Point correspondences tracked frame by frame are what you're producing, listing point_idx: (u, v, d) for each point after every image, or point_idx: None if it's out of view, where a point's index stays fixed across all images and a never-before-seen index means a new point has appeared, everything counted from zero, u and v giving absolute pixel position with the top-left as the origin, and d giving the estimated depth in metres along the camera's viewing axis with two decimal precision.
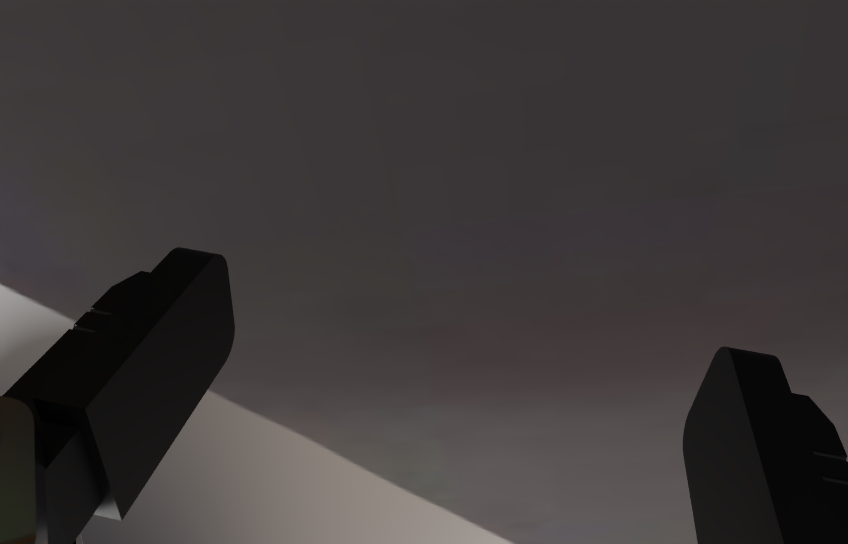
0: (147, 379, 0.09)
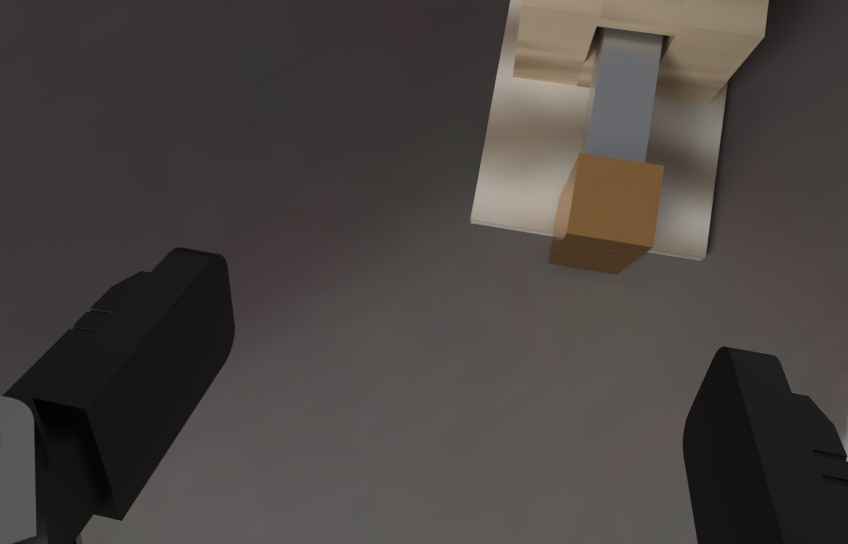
0: (147, 379, 0.09)
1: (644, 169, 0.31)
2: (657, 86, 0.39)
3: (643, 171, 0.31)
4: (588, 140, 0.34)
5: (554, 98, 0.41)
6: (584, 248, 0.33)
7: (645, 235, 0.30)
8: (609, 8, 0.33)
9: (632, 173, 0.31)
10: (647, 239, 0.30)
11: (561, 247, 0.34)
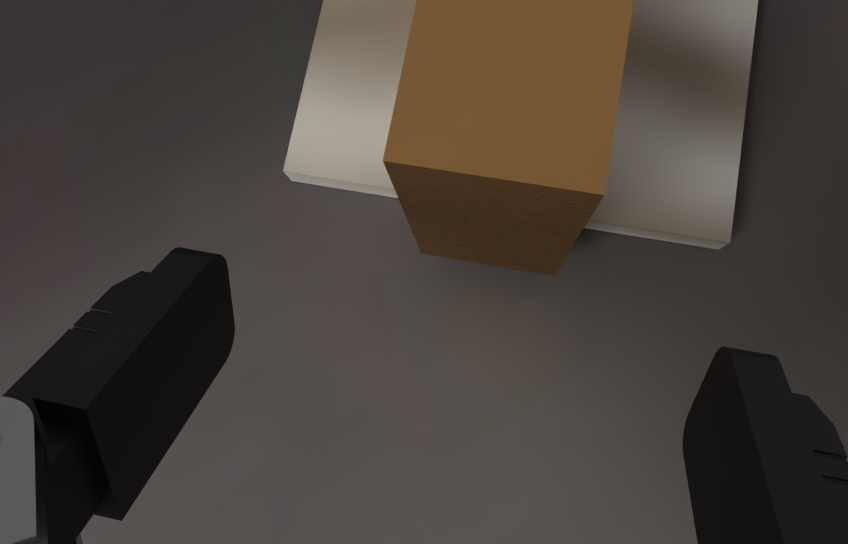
0: (147, 379, 0.09)
1: None
2: None
3: (582, 5, 0.12)
4: None
5: None
6: (455, 210, 0.14)
7: (585, 164, 0.12)
8: None
9: (554, 10, 0.12)
10: (591, 175, 0.12)
11: (410, 210, 0.15)
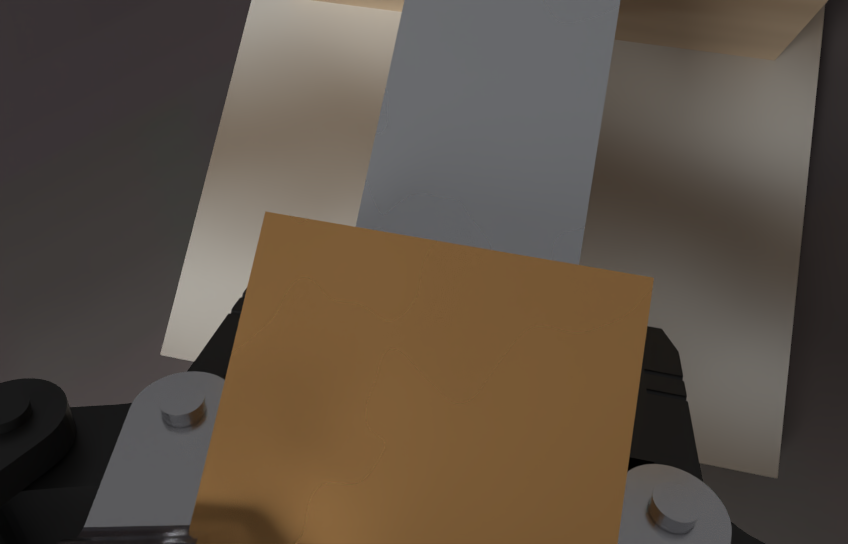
0: None
1: (555, 292, 0.06)
2: (644, 7, 0.14)
3: (553, 304, 0.06)
4: (374, 154, 0.09)
5: (387, 47, 0.16)
6: None
7: None
8: None
9: (501, 313, 0.06)
10: None
11: None
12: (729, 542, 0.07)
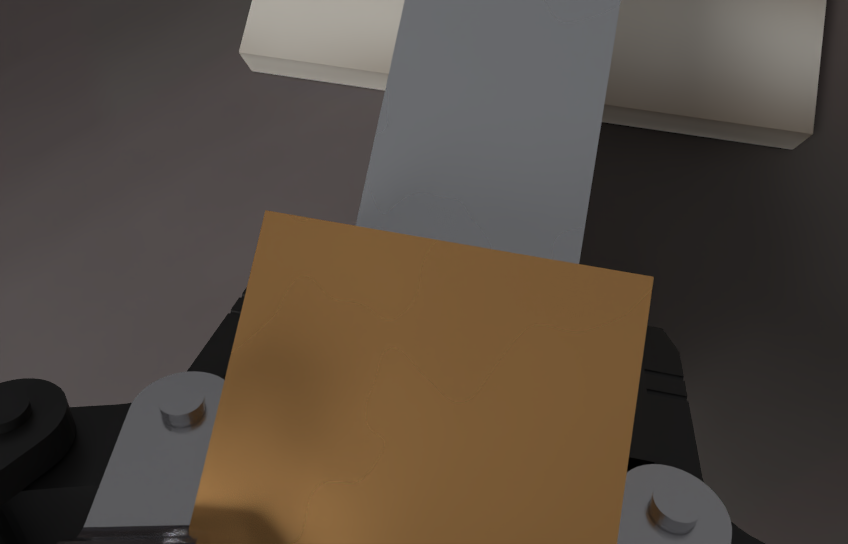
0: None
1: (555, 292, 0.06)
2: None
3: (553, 304, 0.06)
4: (374, 153, 0.09)
5: None
6: None
7: None
8: None
9: (500, 312, 0.06)
10: None
11: None
12: (730, 542, 0.07)
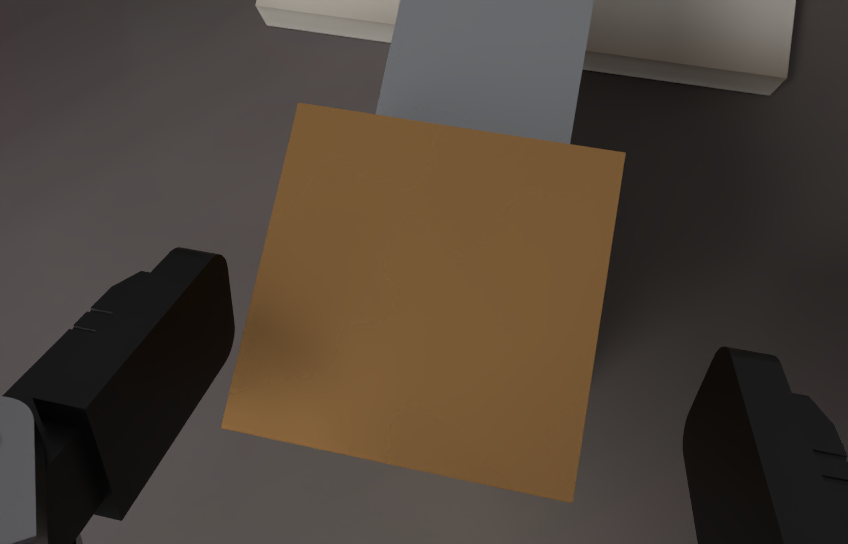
0: (147, 379, 0.09)
1: (543, 165, 0.08)
2: None
3: (541, 175, 0.08)
4: (386, 74, 0.10)
5: None
6: None
7: (541, 448, 0.07)
8: None
9: (497, 183, 0.08)
10: (551, 467, 0.07)
11: None
12: None
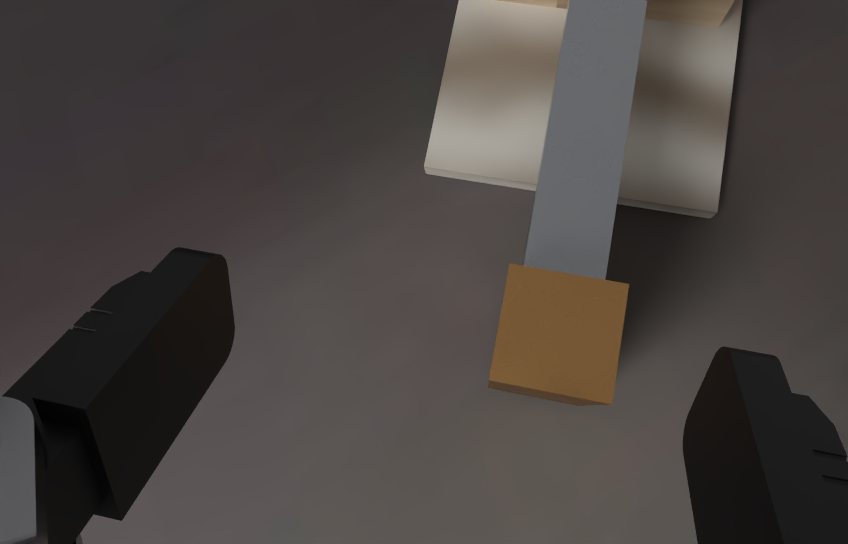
0: (147, 379, 0.09)
1: (600, 288, 0.22)
2: (655, 1, 0.31)
3: (599, 291, 0.22)
4: (529, 239, 0.24)
5: (529, 22, 0.33)
6: (522, 389, 0.24)
7: (601, 386, 0.21)
8: None
9: (583, 294, 0.22)
10: (604, 392, 0.21)
11: (493, 384, 0.25)
12: None
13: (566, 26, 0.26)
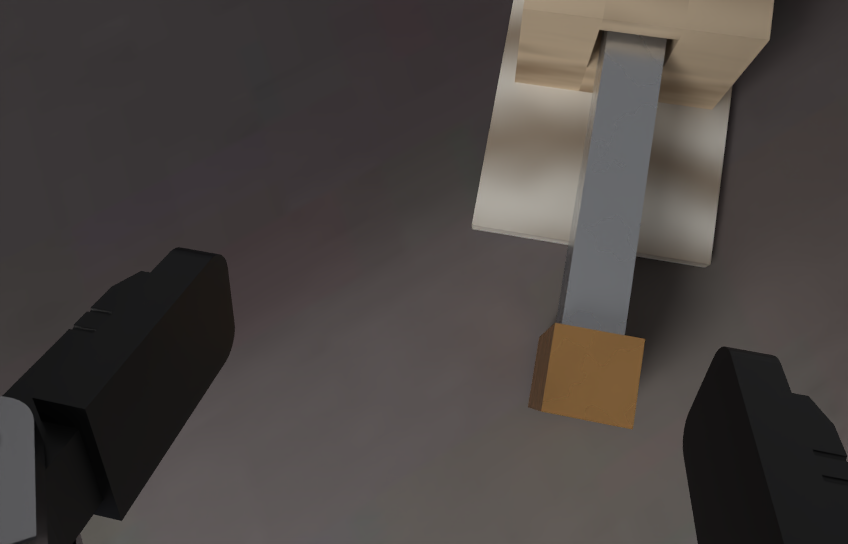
0: (147, 379, 0.09)
1: (623, 342, 0.29)
2: (661, 91, 0.39)
3: (622, 344, 0.29)
4: (566, 299, 0.32)
5: (556, 103, 0.40)
6: None
7: (624, 416, 0.29)
8: (612, 11, 0.33)
9: (611, 346, 0.29)
10: (627, 420, 0.29)
11: None
12: None
13: (593, 128, 0.33)
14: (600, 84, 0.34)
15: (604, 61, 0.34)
